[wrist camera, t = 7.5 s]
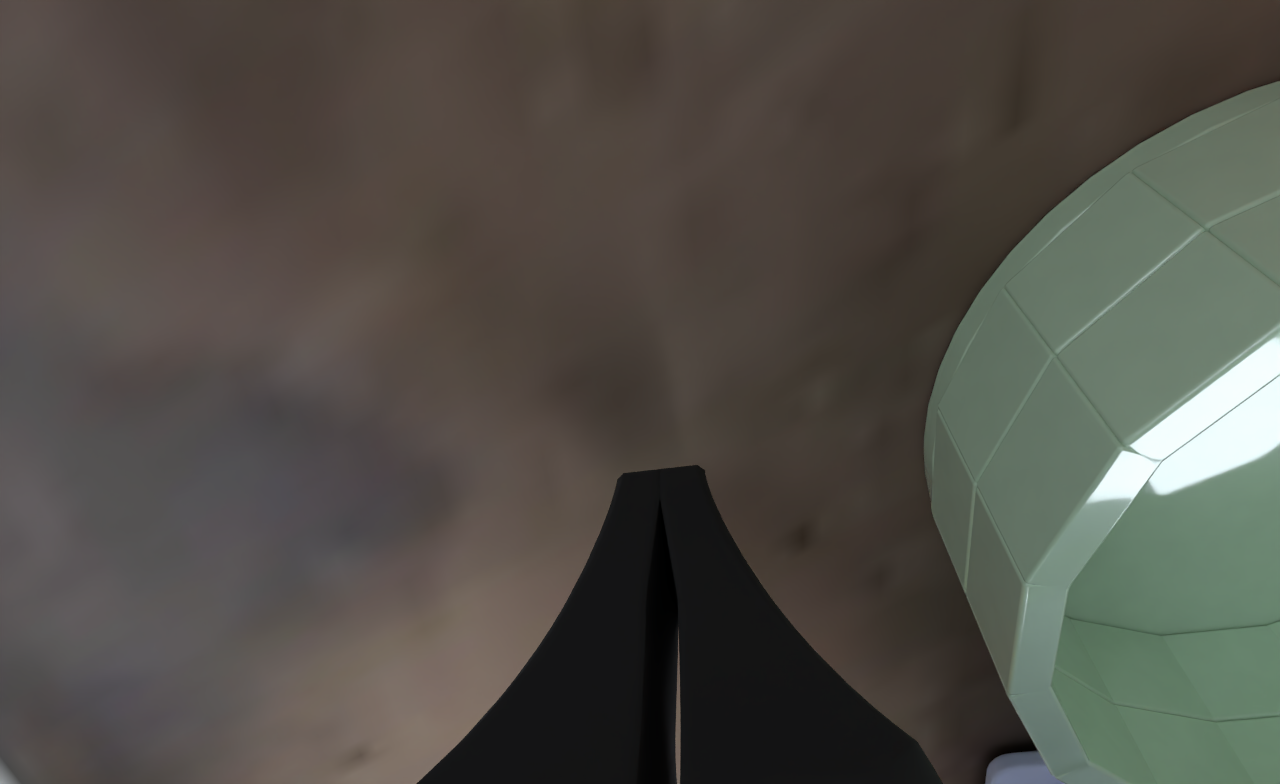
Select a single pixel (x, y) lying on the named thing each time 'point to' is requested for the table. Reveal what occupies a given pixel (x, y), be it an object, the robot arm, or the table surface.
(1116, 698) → the pot
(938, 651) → the table surface
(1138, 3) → the table surface
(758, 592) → the robot arm
